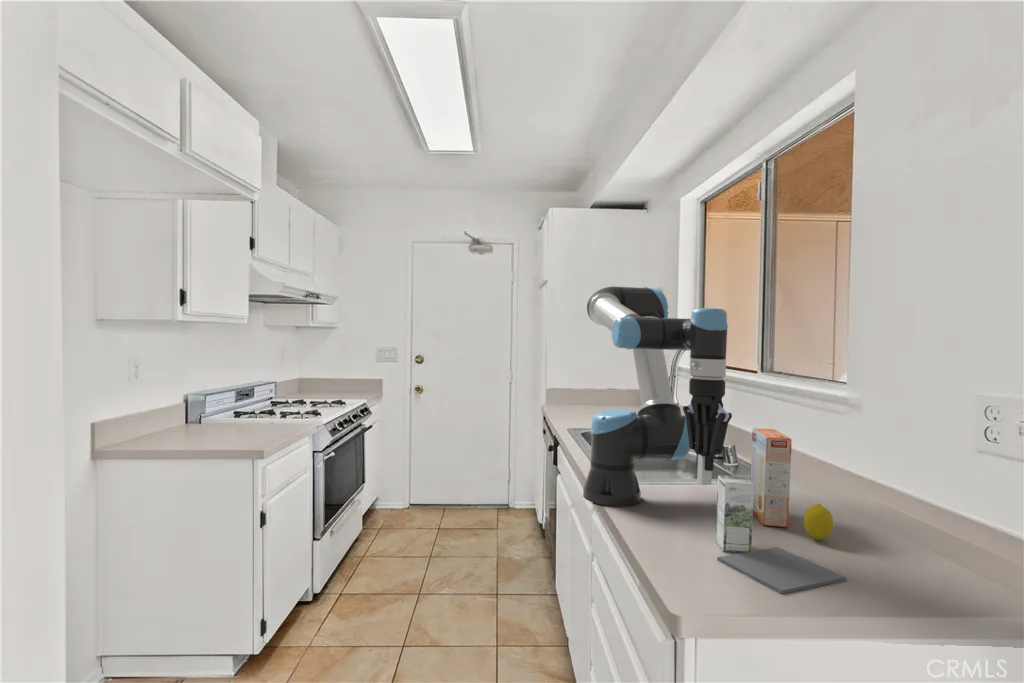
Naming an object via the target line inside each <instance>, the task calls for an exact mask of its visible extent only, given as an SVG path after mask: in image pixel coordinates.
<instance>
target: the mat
mask: <svg viewBox="0 0 1024 683" xmlns="http://www.w3.org/2000/svg"><path fill="white" fill-rule="evenodd" d="M717 559H718V560H720V561H722V562H723V563H722V562H721V563H722V564H724V563H725V564H727V565H728V566H727V565H726V566H727V567H729V566H731V567H732V569H733V568H734V569H733V570H735V569H736V570H735V571H737V572H739V573H741V574H742V575H744V574H745V576H746V575H747V576H746V577H748V576H749V577H748V578H750V579H752V580H754V581H755V582H757V583H760V584H761V585H764V586H766V587H767V588H769V589H771V590H773V591H775V592H777V593H779V594H780V595H782V594H783V595H785V594H789V593H792V592H797V590H798V591H802V590H801V589H803V590H807V589H811V588H815V587H821V586H826V585H829V584H830V585H831V584H834V583H840V582H845V581H847V576H845V575H843V574H841V573H838V572H836V571H834V570H831V569H829V568H827V567H825V566H823V565H820V564H817V563H815V562H813V561H811V560H809V559H806V558H804V557H802V556H799V555H797V554H795V553H792V552H790V551H787V550H785V549H783V548H781V547H779V546H776V547H770V548H764V549H757V550H751V551H750V552H745V553H744V552H738V553H734V554H727V555H722V556H717V558H716V560H717ZM718 560H717V561H718ZM720 561H719V562H720ZM725 564H724V565H725ZM731 567H730V568H731ZM788 592H789V593H788Z"/></svg>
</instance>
